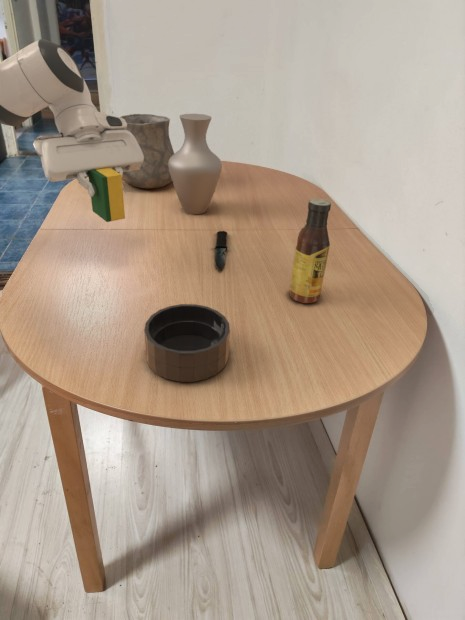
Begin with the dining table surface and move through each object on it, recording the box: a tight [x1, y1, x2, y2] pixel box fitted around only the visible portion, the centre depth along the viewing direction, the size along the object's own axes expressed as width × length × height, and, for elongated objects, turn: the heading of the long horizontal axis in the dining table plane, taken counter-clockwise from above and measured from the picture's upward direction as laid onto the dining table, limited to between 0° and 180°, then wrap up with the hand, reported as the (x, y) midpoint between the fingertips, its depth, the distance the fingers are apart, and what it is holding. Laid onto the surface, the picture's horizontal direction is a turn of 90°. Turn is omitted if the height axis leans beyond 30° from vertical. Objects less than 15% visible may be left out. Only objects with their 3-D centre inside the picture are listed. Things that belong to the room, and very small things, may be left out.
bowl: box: [143, 303, 231, 383], centre depth 72 cm, size 13×13×6 cm
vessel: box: [120, 113, 175, 189], centre depth 141 cm, size 22×22×20 cm
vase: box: [168, 113, 223, 215], centre depth 122 cm, size 14×14×25 cm
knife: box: [214, 230, 228, 272], centre depth 106 cm, size 21×1×3 cm
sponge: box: [88, 168, 126, 223], centre depth 91 cm, size 4×7×9 cm, turn 37°
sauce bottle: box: [289, 197, 332, 304], centre depth 86 cm, size 6×6×20 cm
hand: (107, 192), depth 91 cm, fingers closed on sponge, 4 cm apart
